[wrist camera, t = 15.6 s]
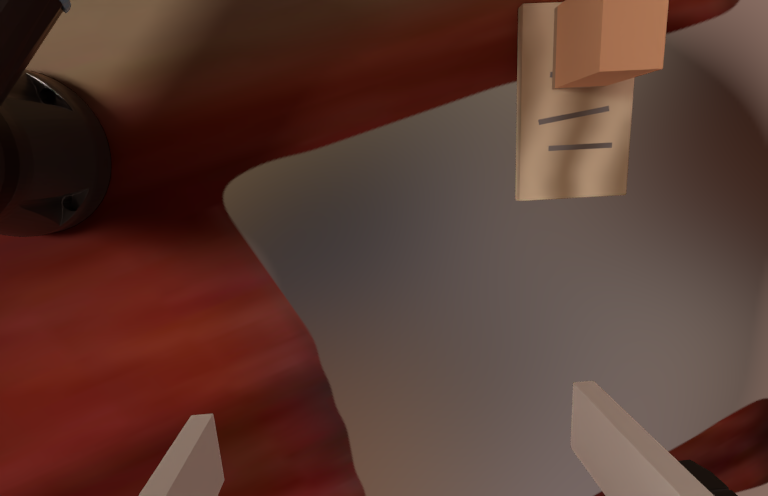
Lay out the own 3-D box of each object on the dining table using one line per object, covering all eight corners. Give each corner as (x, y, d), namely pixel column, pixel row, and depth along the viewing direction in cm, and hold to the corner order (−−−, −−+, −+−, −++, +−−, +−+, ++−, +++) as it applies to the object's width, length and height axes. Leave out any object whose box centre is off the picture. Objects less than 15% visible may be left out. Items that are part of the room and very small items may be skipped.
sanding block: (552, 89, 39) (599, 71, 31) (554, 8, 38) (605, -31, 30) (603, 86, 39) (662, 68, 32) (607, 6, 38) (671, -34, 30)
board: (515, 199, 42) (519, 201, 41) (518, 8, 39) (523, 3, 37) (618, 193, 43) (625, 194, 42) (632, 3, 39) (640, -1, 38)
